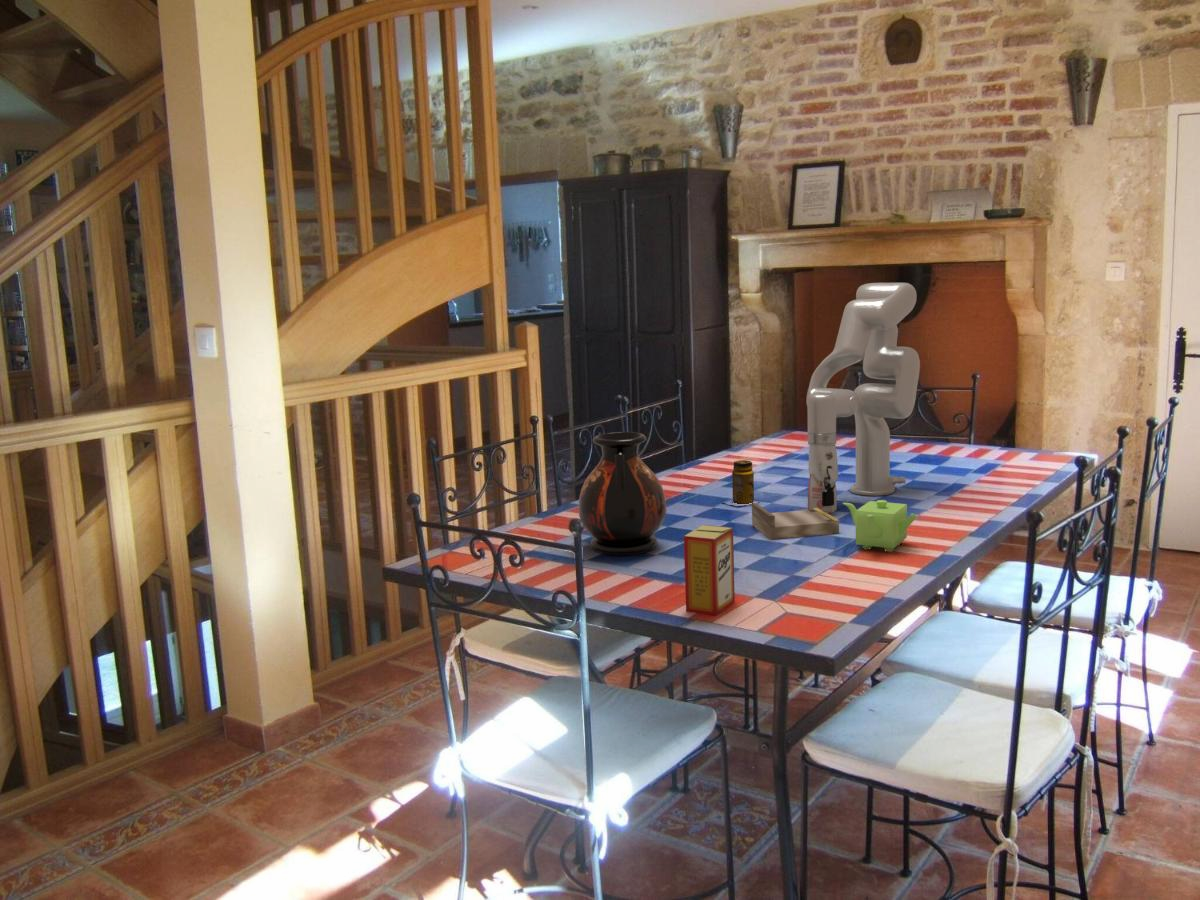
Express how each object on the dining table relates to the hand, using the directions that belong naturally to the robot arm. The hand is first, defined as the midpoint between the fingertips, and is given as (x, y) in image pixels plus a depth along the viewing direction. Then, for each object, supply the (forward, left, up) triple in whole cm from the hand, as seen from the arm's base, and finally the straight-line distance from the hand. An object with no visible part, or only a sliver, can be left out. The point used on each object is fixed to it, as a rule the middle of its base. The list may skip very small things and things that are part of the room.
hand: (822, 502), depth 284 cm
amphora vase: (+59, +18, -3) cm, 62 cm away
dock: (+14, +16, -2) cm, 21 cm away
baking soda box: (+51, +66, -3) cm, 83 cm away
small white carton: (0, 0, -3) cm, 3 cm away
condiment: (+18, -16, -3) cm, 24 cm away
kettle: (+1, +37, -3) cm, 37 cm away
